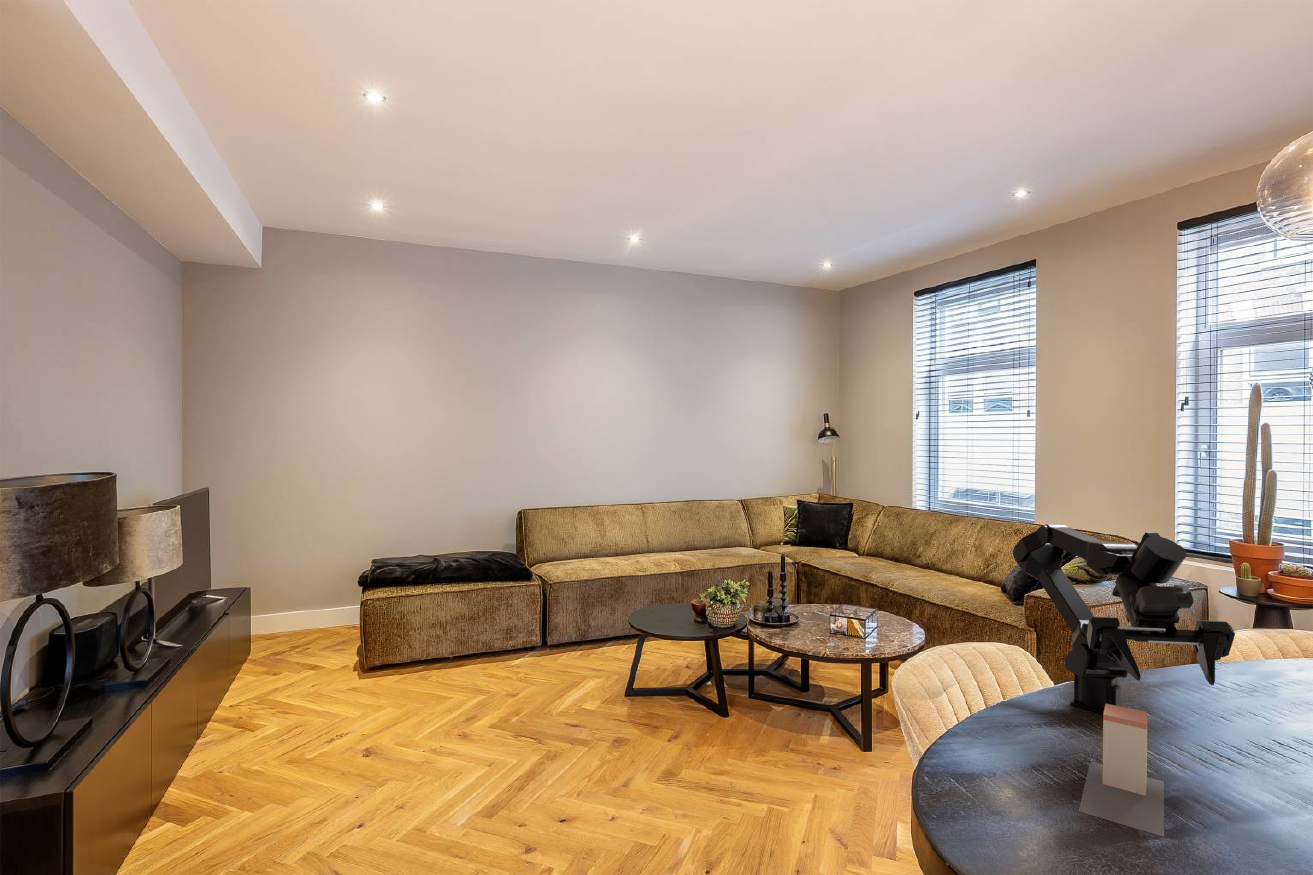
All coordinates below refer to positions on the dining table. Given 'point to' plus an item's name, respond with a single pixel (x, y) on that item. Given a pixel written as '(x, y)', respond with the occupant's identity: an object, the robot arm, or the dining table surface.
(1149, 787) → the charcoal mat
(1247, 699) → the dining table surface
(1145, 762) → the cream block
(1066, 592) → the robot arm
